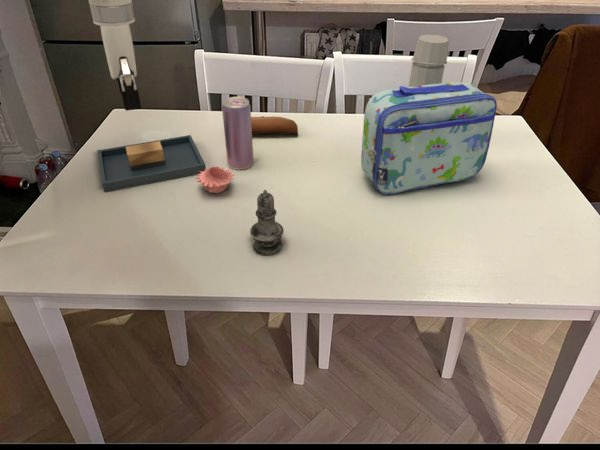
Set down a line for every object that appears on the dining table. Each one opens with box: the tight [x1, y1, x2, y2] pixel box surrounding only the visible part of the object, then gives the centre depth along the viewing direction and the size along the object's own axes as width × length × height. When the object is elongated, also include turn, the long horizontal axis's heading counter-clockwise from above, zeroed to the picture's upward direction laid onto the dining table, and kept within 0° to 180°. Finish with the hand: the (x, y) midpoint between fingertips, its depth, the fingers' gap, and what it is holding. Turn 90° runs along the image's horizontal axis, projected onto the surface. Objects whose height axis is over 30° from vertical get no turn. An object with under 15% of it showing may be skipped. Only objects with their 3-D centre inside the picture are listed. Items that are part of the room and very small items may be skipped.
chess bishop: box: [249, 189, 284, 257], centre depth 80 cm, size 6×6×12 cm
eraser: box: [126, 140, 166, 171], centre depth 104 cm, size 8×4×4 cm, turn 112°
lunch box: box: [360, 82, 498, 196], centre depth 95 cm, size 26×11×21 cm, turn 104°
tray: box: [96, 134, 207, 193], centre depth 105 cm, size 22×16×2 cm
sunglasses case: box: [251, 115, 299, 136], centre depth 119 cm, size 18×7×7 cm
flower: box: [195, 166, 235, 194], centre depth 96 cm, size 8×8×6 cm
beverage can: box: [221, 96, 255, 171], centre depth 102 cm, size 6×6×15 cm
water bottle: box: [408, 34, 450, 87], centre depth 109 cm, size 9×8×25 cm
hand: (130, 100), depth 98 cm, fingers open, 9 cm apart
